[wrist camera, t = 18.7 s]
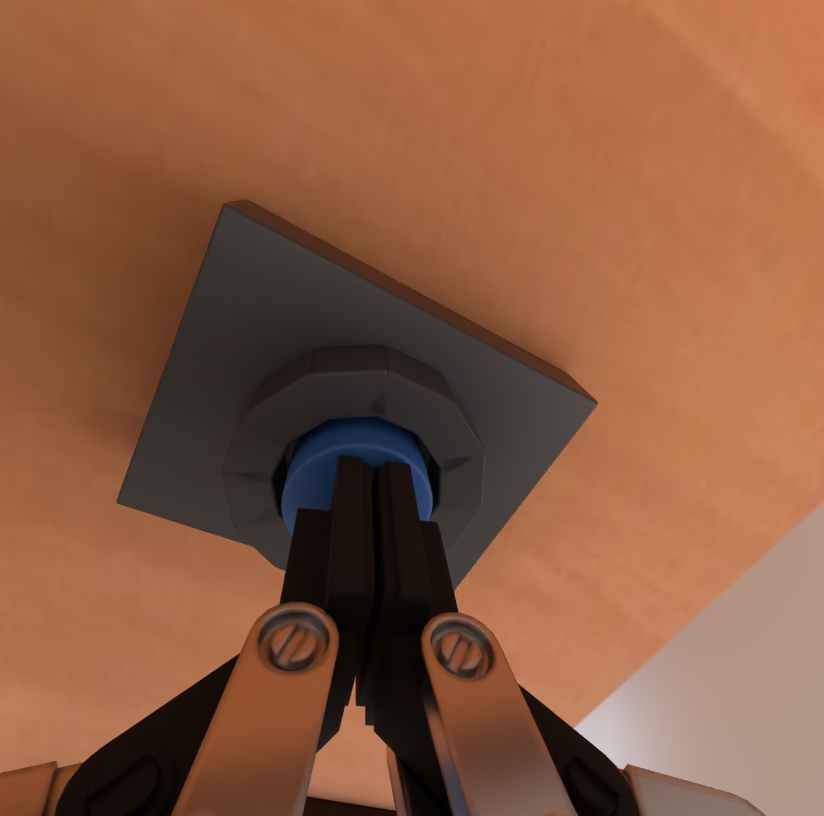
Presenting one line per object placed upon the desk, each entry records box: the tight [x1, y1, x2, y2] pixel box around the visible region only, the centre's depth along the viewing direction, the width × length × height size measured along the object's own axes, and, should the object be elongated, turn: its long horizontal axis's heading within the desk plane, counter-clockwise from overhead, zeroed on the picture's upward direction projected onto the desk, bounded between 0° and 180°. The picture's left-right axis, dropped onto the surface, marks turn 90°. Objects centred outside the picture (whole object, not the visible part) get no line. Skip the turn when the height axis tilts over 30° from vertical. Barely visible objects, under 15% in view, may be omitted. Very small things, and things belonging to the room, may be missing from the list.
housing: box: [117, 200, 598, 590], centre depth 13 cm, size 11×9×4 cm
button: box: [281, 416, 433, 536], centre depth 12 cm, size 4×4×2 cm
